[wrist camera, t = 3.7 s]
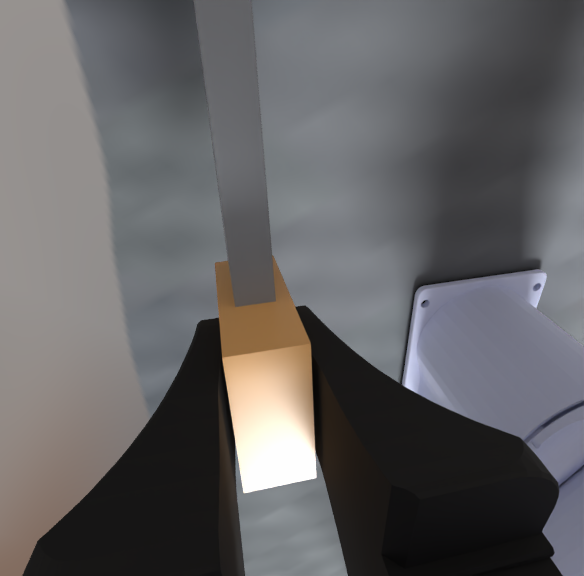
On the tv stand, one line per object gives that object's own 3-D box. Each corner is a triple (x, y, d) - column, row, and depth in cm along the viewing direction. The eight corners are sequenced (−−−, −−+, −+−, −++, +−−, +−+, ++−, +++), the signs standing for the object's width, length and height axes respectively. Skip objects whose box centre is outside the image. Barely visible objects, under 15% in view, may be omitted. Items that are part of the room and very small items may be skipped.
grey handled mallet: (281, 359, 15) (316, 477, 10) (230, 367, 14) (243, 493, 10) (234, -226, 8) (273, -597, 4) (140, -231, 8) (63, -637, 3)
